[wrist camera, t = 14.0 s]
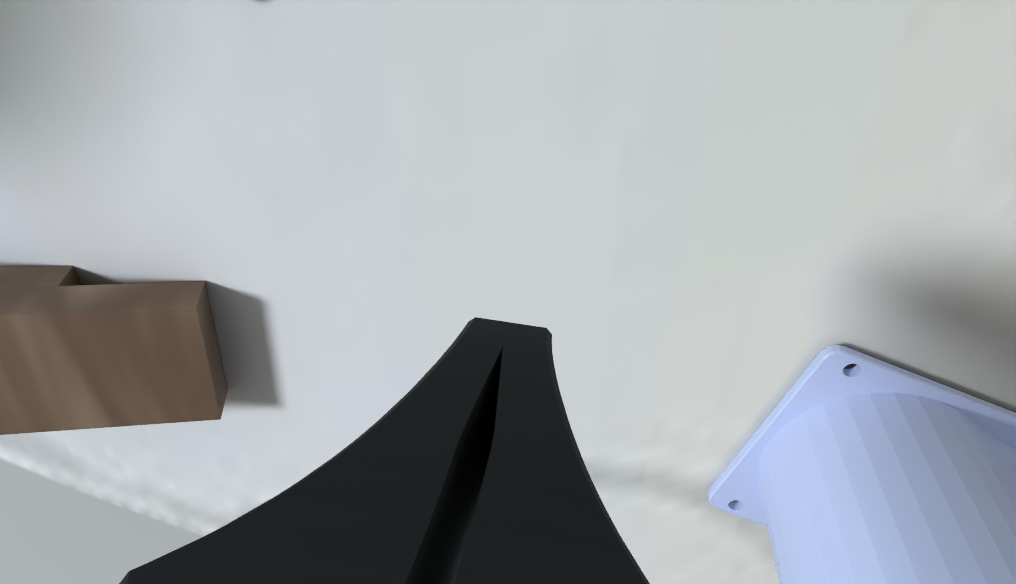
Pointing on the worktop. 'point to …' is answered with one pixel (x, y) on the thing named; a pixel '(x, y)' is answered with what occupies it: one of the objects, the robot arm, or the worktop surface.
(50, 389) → the domino
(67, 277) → the domino
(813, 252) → the worktop surface
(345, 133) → the worktop surface
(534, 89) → the worktop surface
